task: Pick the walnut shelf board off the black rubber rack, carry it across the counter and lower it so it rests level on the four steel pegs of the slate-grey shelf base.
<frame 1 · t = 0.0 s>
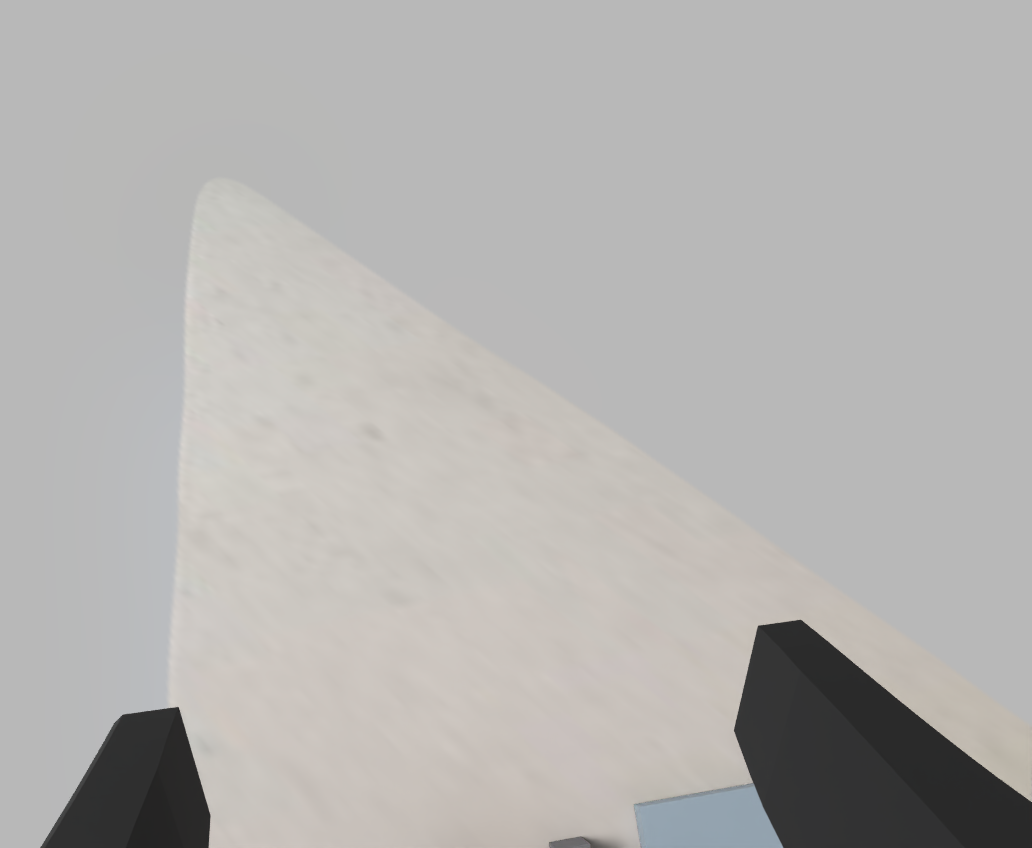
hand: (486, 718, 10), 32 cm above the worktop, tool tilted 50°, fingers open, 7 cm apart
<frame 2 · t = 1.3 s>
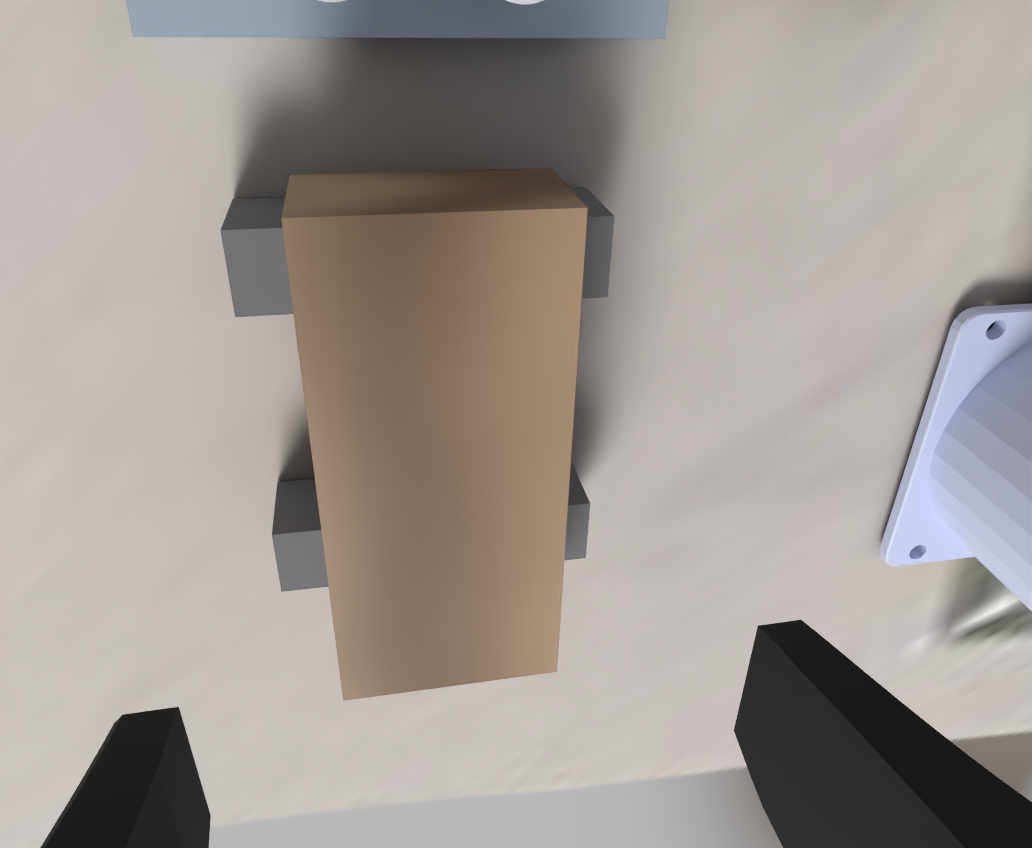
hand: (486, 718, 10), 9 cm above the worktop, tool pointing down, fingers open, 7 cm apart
shelf board: (432, 420, 17), point 2 cm above the worktop, touching board rack
board rack: (423, 376, 18), on the worktop
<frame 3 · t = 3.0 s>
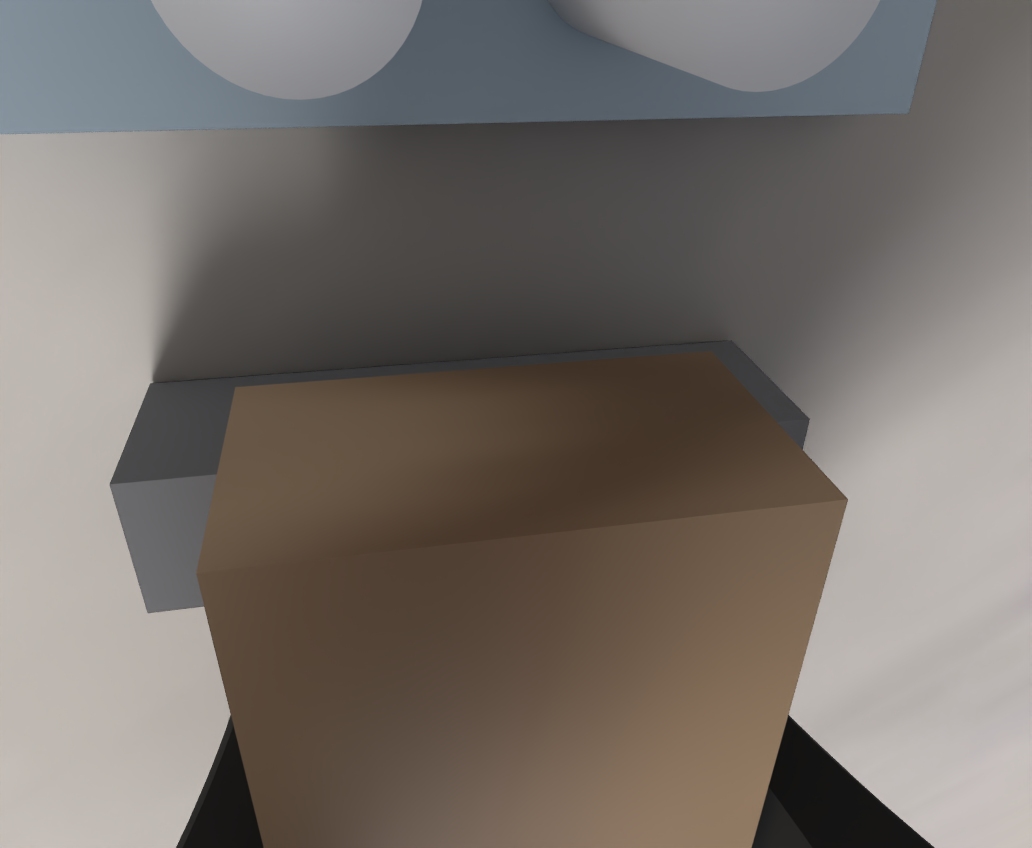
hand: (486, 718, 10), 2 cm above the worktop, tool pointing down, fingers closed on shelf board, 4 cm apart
shelf board: (487, 725, 10), point 2 cm above the worktop, touching board rack, gripper
board rack: (465, 613, 12), on the worktop
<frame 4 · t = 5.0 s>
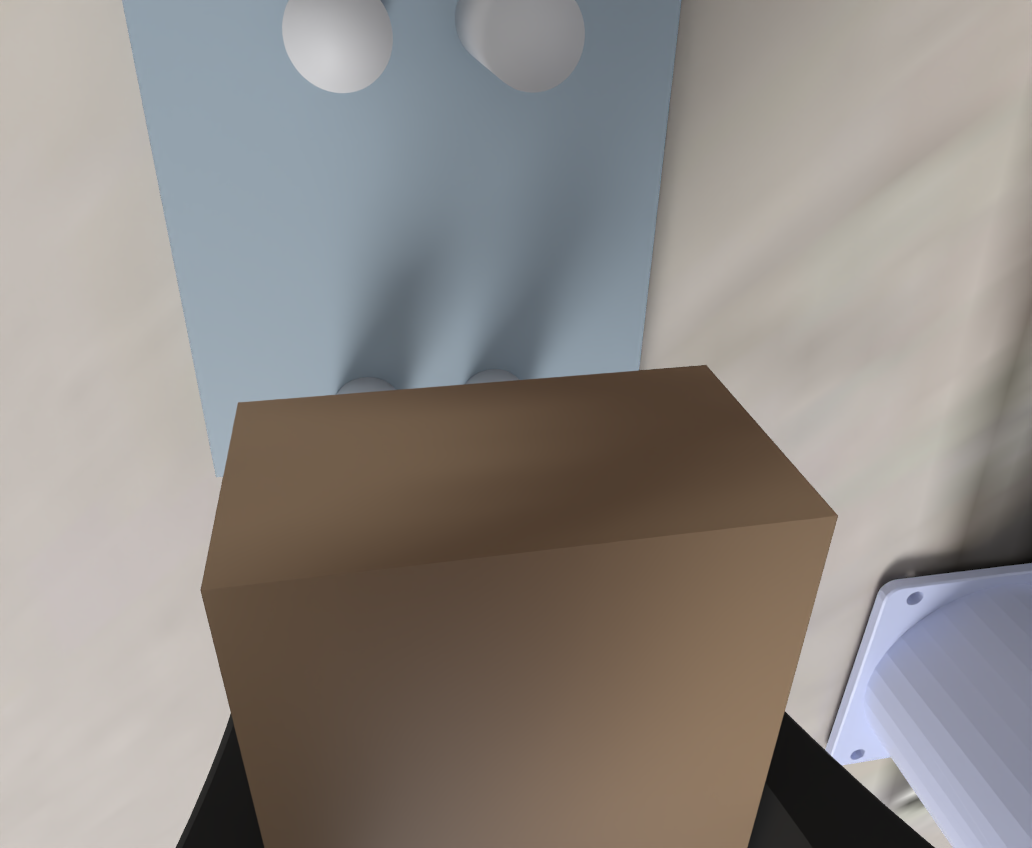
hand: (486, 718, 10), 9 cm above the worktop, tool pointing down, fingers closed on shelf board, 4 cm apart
shelf board: (486, 730, 10), point 9 cm above the worktop, touching gripper
peg base: (420, 218, 16), on the worktop
when the fingers open (5 cm above the worktop, at t = 6.8 s): shelf board drops 1 cm, resting on peg base.
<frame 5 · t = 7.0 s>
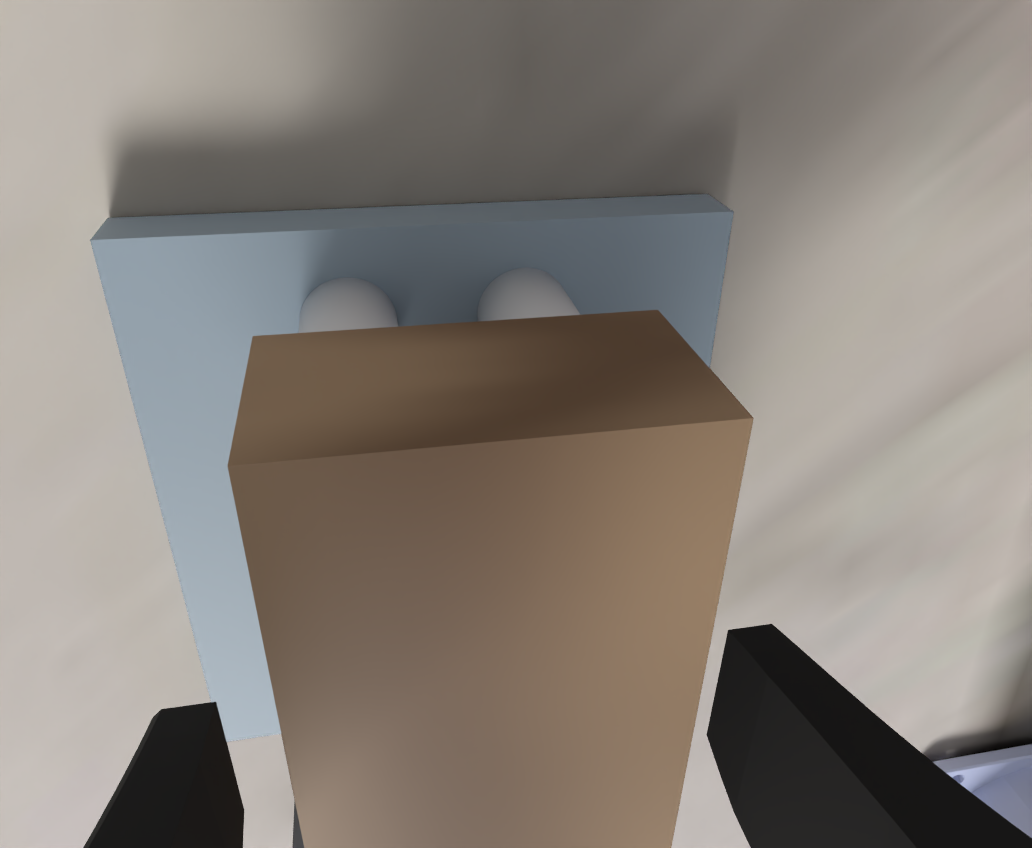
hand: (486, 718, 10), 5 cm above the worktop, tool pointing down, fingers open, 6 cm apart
shelf board: (470, 647, 11), point 4 cm above the worktop, touching peg base
peg base: (438, 478, 15), on the worktop
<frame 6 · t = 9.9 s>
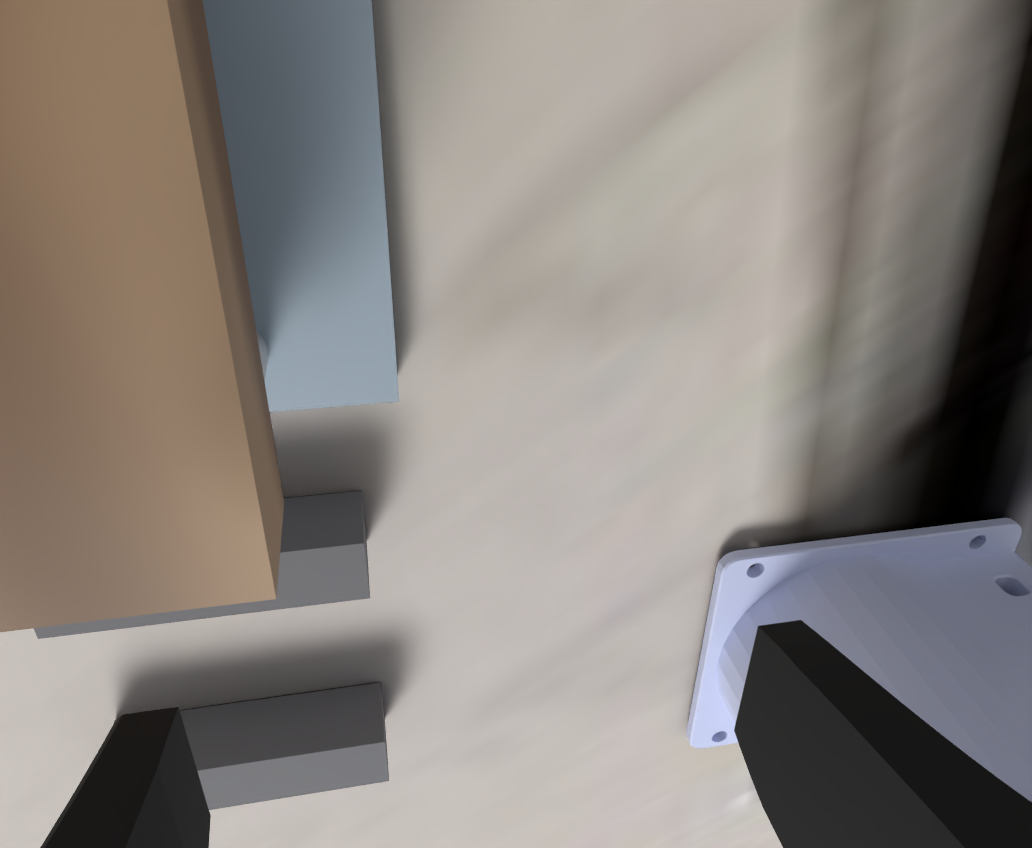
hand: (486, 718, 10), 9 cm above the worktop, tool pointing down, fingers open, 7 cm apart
shelf board: (73, 232, 11), point 4 cm above the worktop, touching peg base
board rack: (236, 634, 21), on the worktop
peg base: (129, 155, 15), on the worktop
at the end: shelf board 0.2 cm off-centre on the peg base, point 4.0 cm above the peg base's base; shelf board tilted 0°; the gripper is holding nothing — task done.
